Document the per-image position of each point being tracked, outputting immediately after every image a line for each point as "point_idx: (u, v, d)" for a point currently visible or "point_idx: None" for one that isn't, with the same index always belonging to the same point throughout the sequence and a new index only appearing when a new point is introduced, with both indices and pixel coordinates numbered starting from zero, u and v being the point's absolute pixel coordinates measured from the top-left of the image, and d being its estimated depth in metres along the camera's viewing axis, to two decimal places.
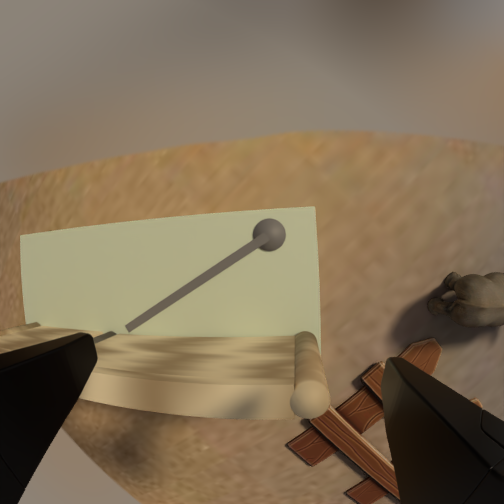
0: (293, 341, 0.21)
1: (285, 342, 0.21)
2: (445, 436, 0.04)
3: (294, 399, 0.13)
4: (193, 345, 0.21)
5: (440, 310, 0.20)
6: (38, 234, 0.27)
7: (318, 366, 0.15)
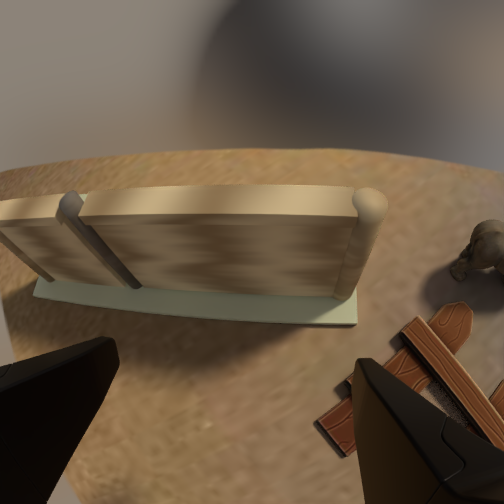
0: None
1: None
2: (402, 442, 0.04)
3: (355, 198, 0.14)
4: None
5: (463, 263, 0.21)
6: None
7: None
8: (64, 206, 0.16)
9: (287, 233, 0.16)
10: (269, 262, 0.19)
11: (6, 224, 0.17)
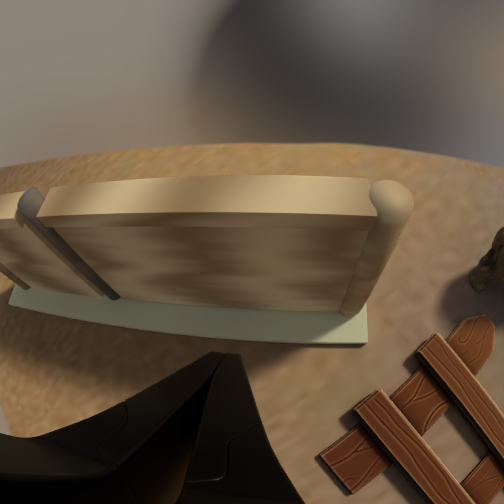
0: None
1: None
2: None
3: (373, 193, 0.11)
4: None
5: (484, 272, 0.18)
6: None
7: None
8: (22, 205, 0.12)
9: (286, 238, 0.13)
10: (263, 273, 0.15)
11: None
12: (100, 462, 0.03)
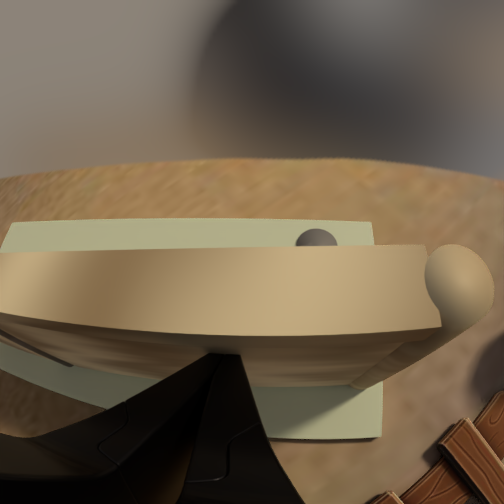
0: None
1: None
2: None
3: (432, 276, 0.06)
4: None
5: None
6: (32, 223, 0.22)
7: None
8: None
9: None
10: None
11: None
12: (100, 461, 0.03)
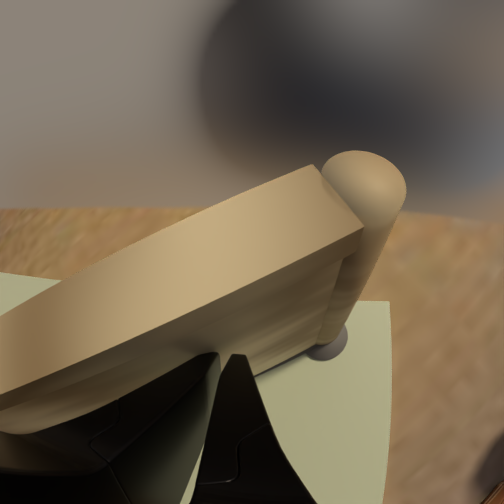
0: None
1: None
2: None
3: (333, 187, 0.06)
4: None
5: None
6: (5, 275, 0.19)
7: None
8: None
9: (216, 327, 0.07)
10: None
11: None
12: (90, 458, 0.03)
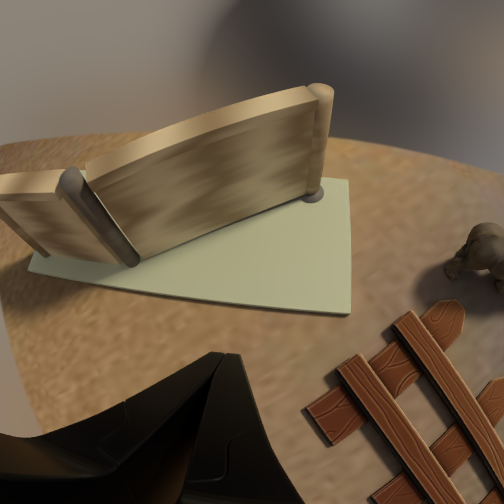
0: None
1: None
2: None
3: (310, 91, 0.18)
4: None
5: (457, 263, 0.22)
6: None
7: None
8: (64, 182, 0.15)
9: (270, 133, 0.19)
10: (256, 171, 0.22)
11: (5, 198, 0.17)
12: (100, 462, 0.03)
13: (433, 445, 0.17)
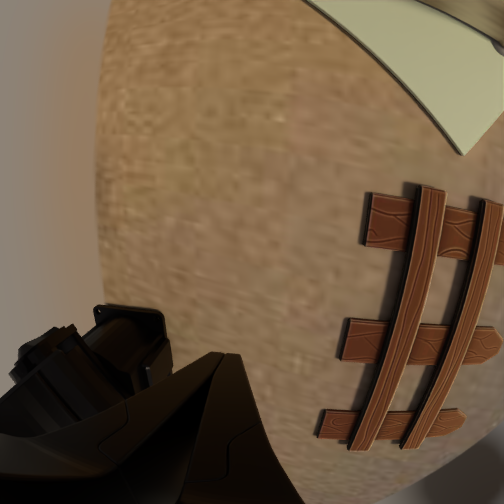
0: None
1: None
2: None
3: None
4: None
5: None
6: None
7: None
8: None
9: None
10: None
11: None
12: (100, 461, 0.03)
13: (422, 325, 0.21)
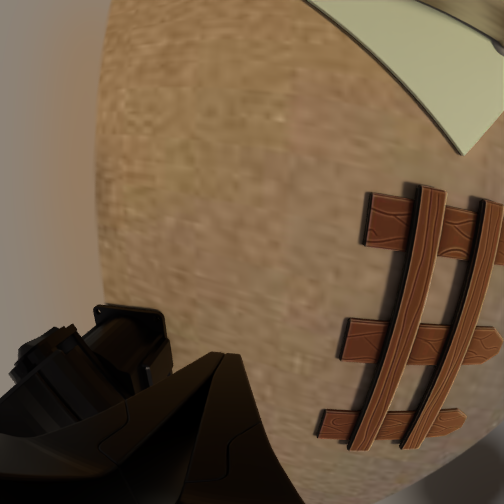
0: None
1: None
2: None
3: None
4: None
5: None
6: None
7: None
8: None
9: None
10: None
11: None
12: (100, 461, 0.03)
13: (422, 325, 0.20)
